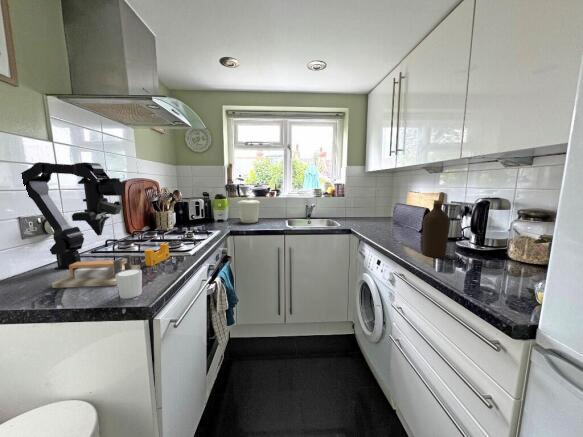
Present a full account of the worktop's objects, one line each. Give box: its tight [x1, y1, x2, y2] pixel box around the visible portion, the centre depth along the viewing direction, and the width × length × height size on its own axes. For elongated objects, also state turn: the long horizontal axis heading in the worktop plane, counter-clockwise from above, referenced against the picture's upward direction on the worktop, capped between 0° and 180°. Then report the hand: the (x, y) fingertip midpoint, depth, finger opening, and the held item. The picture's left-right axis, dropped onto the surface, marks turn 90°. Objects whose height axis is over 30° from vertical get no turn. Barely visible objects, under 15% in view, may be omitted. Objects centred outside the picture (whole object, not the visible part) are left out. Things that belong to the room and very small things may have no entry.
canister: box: [237, 196, 261, 224], centre depth 206 cm, size 18×18×21 cm
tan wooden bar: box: [68, 257, 128, 275], centre depth 92 cm, size 17×5×4 cm, turn 96°
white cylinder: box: [115, 269, 143, 299], centre depth 78 cm, size 7×7×7 cm
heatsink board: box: [51, 254, 141, 289], centre depth 92 cm, size 20×16×7 cm
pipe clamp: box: [144, 243, 170, 267], centre depth 110 cm, size 12×4×6 cm, turn 172°
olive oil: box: [421, 199, 451, 259], centre depth 116 cm, size 11×11×25 cm
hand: (99, 235), depth 102 cm, fingers closed
